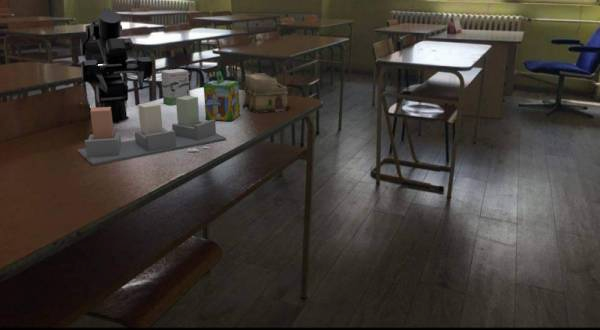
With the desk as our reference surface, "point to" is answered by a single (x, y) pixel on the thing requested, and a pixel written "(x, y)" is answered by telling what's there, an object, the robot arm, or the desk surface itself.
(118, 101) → the robot arm
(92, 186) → the desk surface
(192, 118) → the sage box
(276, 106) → the miniature house
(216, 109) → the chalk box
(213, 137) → the grey three-slot stand
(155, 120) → the cream box
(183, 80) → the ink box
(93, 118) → the terracotta box
